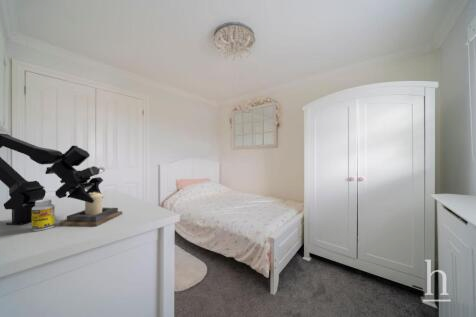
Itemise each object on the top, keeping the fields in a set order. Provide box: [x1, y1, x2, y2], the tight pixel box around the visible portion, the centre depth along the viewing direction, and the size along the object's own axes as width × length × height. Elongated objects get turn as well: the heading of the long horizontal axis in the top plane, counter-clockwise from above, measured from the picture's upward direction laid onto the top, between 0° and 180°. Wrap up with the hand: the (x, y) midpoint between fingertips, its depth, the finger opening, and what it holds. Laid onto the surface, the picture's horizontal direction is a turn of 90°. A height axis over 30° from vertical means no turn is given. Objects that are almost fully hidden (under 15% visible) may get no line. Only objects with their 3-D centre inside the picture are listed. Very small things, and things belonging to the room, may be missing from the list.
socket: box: [60, 207, 123, 227], centre depth 73 cm, size 14×14×3 cm
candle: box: [84, 192, 104, 215], centre depth 73 cm, size 6×6×10 cm
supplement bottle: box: [31, 198, 56, 232], centre depth 63 cm, size 6×6×10 cm
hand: (97, 200), depth 73 cm, fingers closed on candle, 5 cm apart
